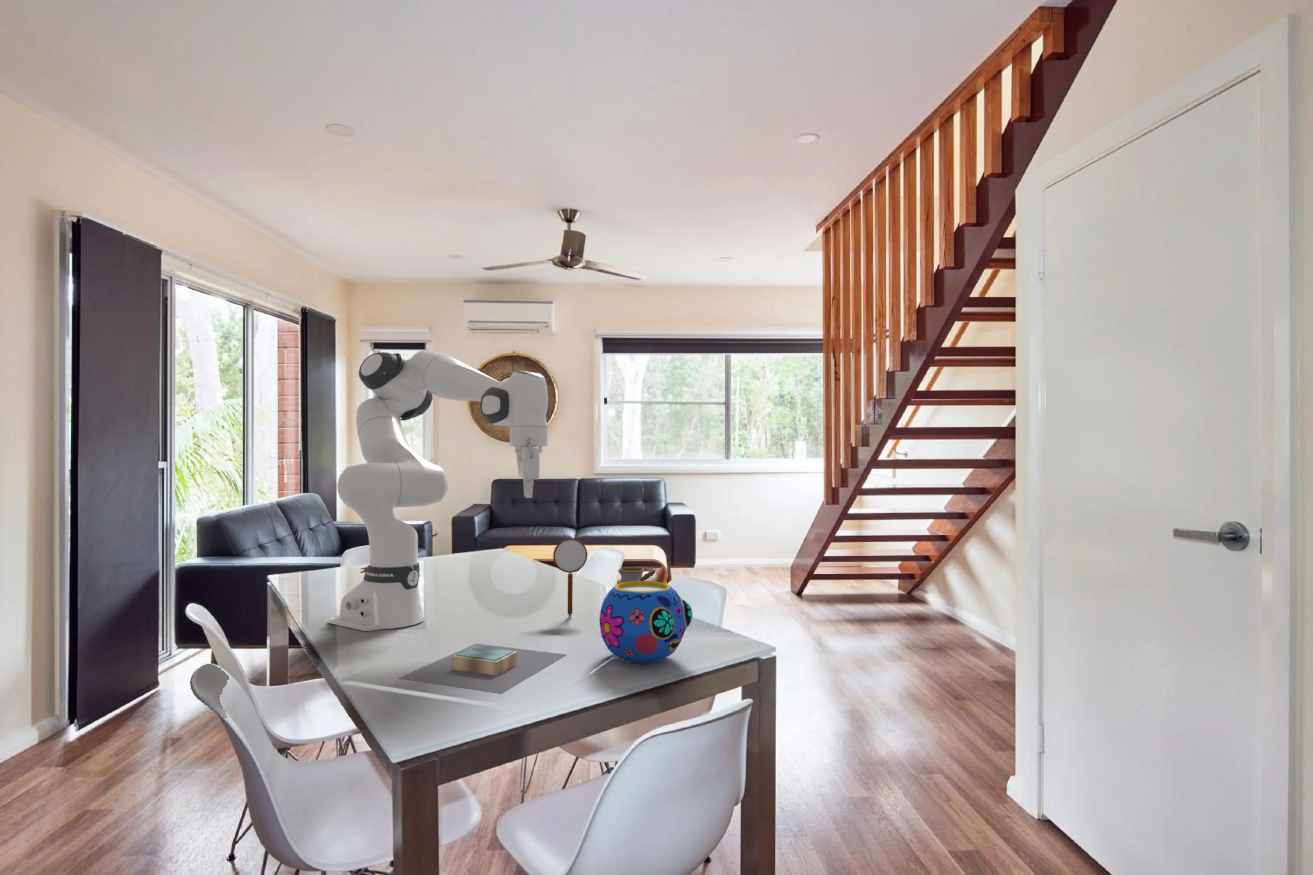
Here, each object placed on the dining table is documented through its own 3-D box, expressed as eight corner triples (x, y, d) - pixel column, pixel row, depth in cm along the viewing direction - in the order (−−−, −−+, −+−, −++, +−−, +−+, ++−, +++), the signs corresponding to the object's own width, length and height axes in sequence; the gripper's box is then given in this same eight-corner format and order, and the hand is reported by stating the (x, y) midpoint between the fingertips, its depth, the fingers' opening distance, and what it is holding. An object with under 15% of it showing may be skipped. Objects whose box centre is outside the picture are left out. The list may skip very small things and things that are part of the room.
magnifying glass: (552, 619, 172) (553, 539, 172) (552, 617, 174) (553, 538, 174) (587, 617, 174) (587, 538, 174) (586, 615, 175) (587, 537, 176)
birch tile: (473, 658, 137) (451, 669, 131) (474, 645, 137) (452, 654, 131) (517, 664, 134) (497, 675, 127) (517, 650, 134) (497, 660, 127)
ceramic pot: (660, 680, 127) (660, 598, 127) (581, 664, 136) (582, 588, 136) (700, 655, 142) (701, 582, 142) (627, 643, 151) (628, 574, 151)
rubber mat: (398, 681, 125) (398, 677, 125) (476, 646, 148) (476, 643, 148) (501, 696, 118) (501, 693, 118) (567, 657, 140) (567, 654, 140)
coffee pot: (602, 617, 174) (602, 558, 174) (644, 613, 178) (645, 555, 178) (630, 639, 154) (630, 572, 154) (677, 634, 158) (677, 569, 159)
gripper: (546, 438, 153) (545, 500, 153) (538, 439, 173) (538, 494, 173) (517, 438, 152) (516, 500, 152) (513, 439, 172) (512, 494, 171)
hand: (528, 497), depth 162 cm, fingers closed
